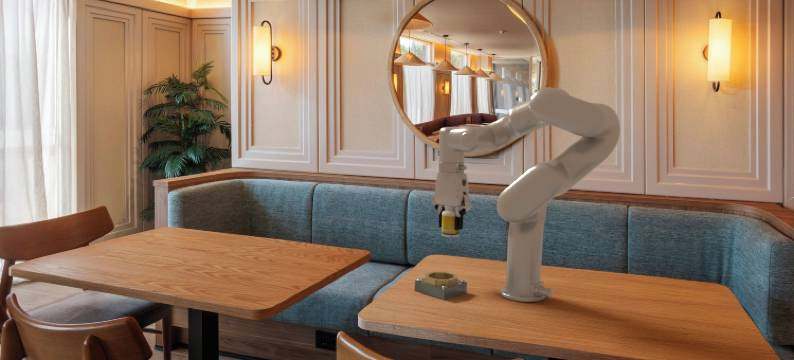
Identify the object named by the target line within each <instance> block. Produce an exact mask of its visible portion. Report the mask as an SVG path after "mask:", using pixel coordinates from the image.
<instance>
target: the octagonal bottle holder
mask: <svg viewBox="0 0 794 360" xmlns="http://www.w3.org/2000/svg"><path fill="white" fill-rule="evenodd" d="M467 289H468V282H467V281H465V280H464V279H463V280H462V279H461V280H460V279H458V276H457V273H456V274H455V273H452V272H449V271H430V272H427V273H425V274H424V277H422V278H416V280H414V291H415V292H418V293H421V294H425V295H427V296H431V297H435V298H438V299H441V300H443V301H444V300H449V299H451V298H454V297H457V296H461V295H463V294H466V293H468V292H467V291H468V290H467Z"/></svg>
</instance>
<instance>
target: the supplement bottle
mask: <svg viewBox="0 0 794 360" xmlns="http://www.w3.org/2000/svg"><path fill="white" fill-rule="evenodd" d="M455 217H457V216H456V212H455V208H454V207H451V206H448V205H445V211H443V212H442V227H441V236H442V237H444V238H445V237H446V238H457V237H460V231H461V230H455Z"/></svg>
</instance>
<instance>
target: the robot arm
mask: <svg viewBox="0 0 794 360" xmlns="http://www.w3.org/2000/svg"><path fill="white" fill-rule="evenodd" d="M549 125H551V126H553V127H555V128H558V129H561V130H563V131H565V132H568V133H571V134H573V135H576V136H579V137H581V138H579V139H578V140H577V141H576V142H573V144H571V145H569V147H567V148H566V149H565V150H564V151H563V152H561V153H560V154H559V155H558V156H557V157H555V158H553V159H551V160H549V161H542V162H539V163H537V164H535V165H533V166H532V167H530V168H529V169H527V170H526V171H525V172H524V173H522V175H520V176H519V177H518V178H517V179H515V180H514V181H513V182H511V183H510V184H509V185H508V186H507V187H505V189H504V190H503V191H501V193H500V194H499V196H498V198H497V201H496V211H497V213H498V215H499V217H501V219H503V220H504V221H506V222H508V223H509V225H508V232H507V233H508V234H507V250H506V251H507V254H506V255H507V256H506V271H505V272H506V273H505V275H506V277H505V286H502V287H501V288H500V290H499V294H500V295H501V296H502V297H503V298H505V299H507V300H510V301H516V302H522V303H532V302H533V303H534V302H541V301H542V300H544V299H546V298H551V296H552V295H553V288H551V287H546V286H545V281H544V280H543V281H542V280H541V279H542V278H541V277H542V262H543V261H542V260H543V259H542V257H543V244H544V243H543V242H544V228H545V227H544V226H545V221H546V214H547V210H548V208H547V207H548V202H549V201H551V200H552V199H554V198H555V197H559V196H561V195H564V194H566V193H567V192H568V191H569V190H570V189H572V188H573V187H574V186H575V185H576V184H578V182H580V181H581V180H583V179H584V178H585V177H587V176H588V175H589V174H590V173H591V172H592V171H594V169H596V168H597V167H598V166H600V165H601V164H602V163H603V162H604V161H605V160H606V159H608V158H609V156H610V155H611V154H612V153H613V152H614V150H615V148H616V147H617V144H618V142H619V139H620V135H621V125H620V120H619V116H618V114H617V113H616V111H615V110H614V109H613V108H612V107H611V106H609V105H606V104H603V103H597V102H594V103H593V102H589V101H586V100H583V99H580V98H577V97H574V96H572V95H570V94H569V93H568V91H566V90H564V89H562V88H558V87H557V88H556V87H550V86H547V87H542V88H539V89H538V90H536V91H535V92H534V93H533V94H532V95H531V96H530V98H529V99H527V100H525V101H522V102H520V103H518V104H515V105H513V106H511V107H510V108H508V112H507V114H506V115H504V117H502V118H500V119H498V120H496V121H493V122H491V123H489V124H486V125H480V126H465V127H460V126H445V127H442V128H440V129H439V136H438V139H439V140H438V172H437V174H436V180H435V185H434V186H435V187H434V196H433V198H432V199H431V200H430V203H431V204H432V206H433V207H434V209H435V210H436V214H437V215H438V228H441V229H442V212H443V211H445V205H448V206H451V207H454V208H455V212H456V216H457V217H455V230H460V231H461V230H463V229H464V217H465V216H466V214H467V213H468V212H469V211H470V210H471V209H472V208H473V204H472V203H471V201H470V191H469V190H470V189H469V188H470V187H469V179H468V176H467V173H465V171H466V170H467V165H465V153H470V154H473V153H475V154H476V153H483V152H489V151H492V150H495V149H498V148H500V147H502V146H504V145H507V144H509V143H511V142H513V141H515V140H517V139H520V138H521V137H524V136H525V135H527V134H530V133H533V132H535V131H537V130H539V129H542V128H544V127H547V126H549Z"/></svg>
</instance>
